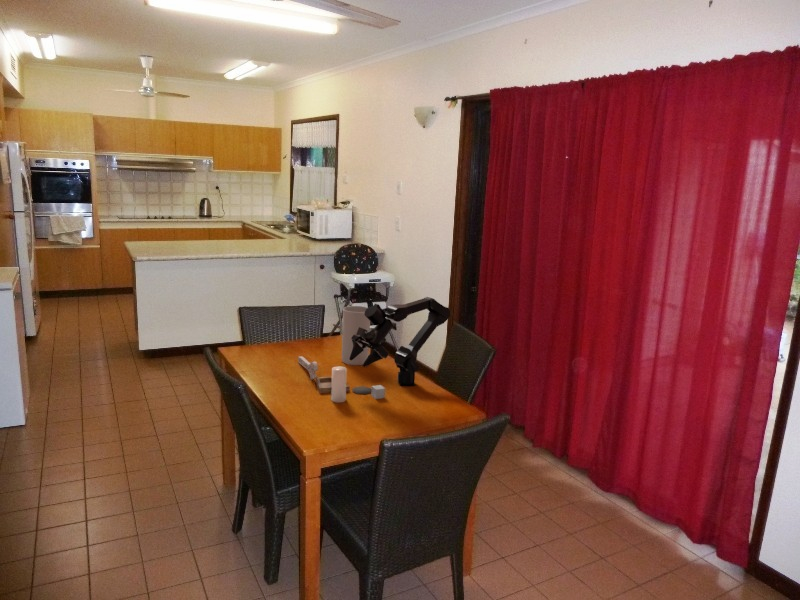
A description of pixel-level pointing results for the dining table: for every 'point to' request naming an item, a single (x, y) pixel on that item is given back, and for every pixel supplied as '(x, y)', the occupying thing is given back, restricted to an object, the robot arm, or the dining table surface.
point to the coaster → (362, 390)
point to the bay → (326, 384)
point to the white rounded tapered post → (338, 384)
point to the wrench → (309, 366)
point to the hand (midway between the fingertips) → (356, 363)
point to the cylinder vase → (353, 333)
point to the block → (378, 392)
